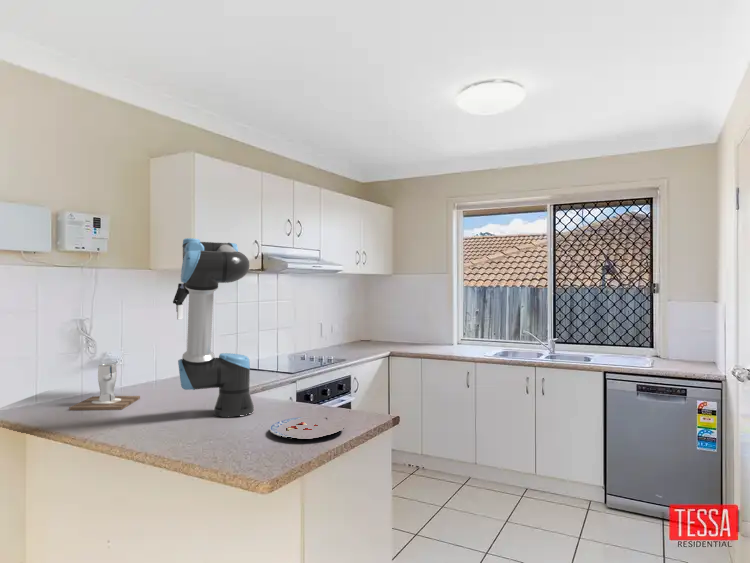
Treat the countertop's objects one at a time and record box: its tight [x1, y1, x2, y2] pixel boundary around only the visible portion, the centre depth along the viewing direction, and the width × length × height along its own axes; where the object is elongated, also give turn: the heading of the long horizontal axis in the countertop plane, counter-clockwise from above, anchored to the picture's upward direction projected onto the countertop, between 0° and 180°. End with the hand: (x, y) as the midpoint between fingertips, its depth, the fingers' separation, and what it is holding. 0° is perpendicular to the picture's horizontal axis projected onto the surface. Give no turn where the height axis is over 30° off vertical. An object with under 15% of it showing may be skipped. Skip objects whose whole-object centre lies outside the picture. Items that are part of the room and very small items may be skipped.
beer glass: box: [97, 363, 117, 402], centre depth 212 cm, size 7×7×15 cm
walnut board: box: [68, 395, 141, 411], centre depth 212 cm, size 20×20×2 cm
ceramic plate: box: [269, 416, 318, 438], centre depth 174 cm, size 26×26×3 cm
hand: (190, 320), depth 227 cm, fingers open, 13 cm apart
